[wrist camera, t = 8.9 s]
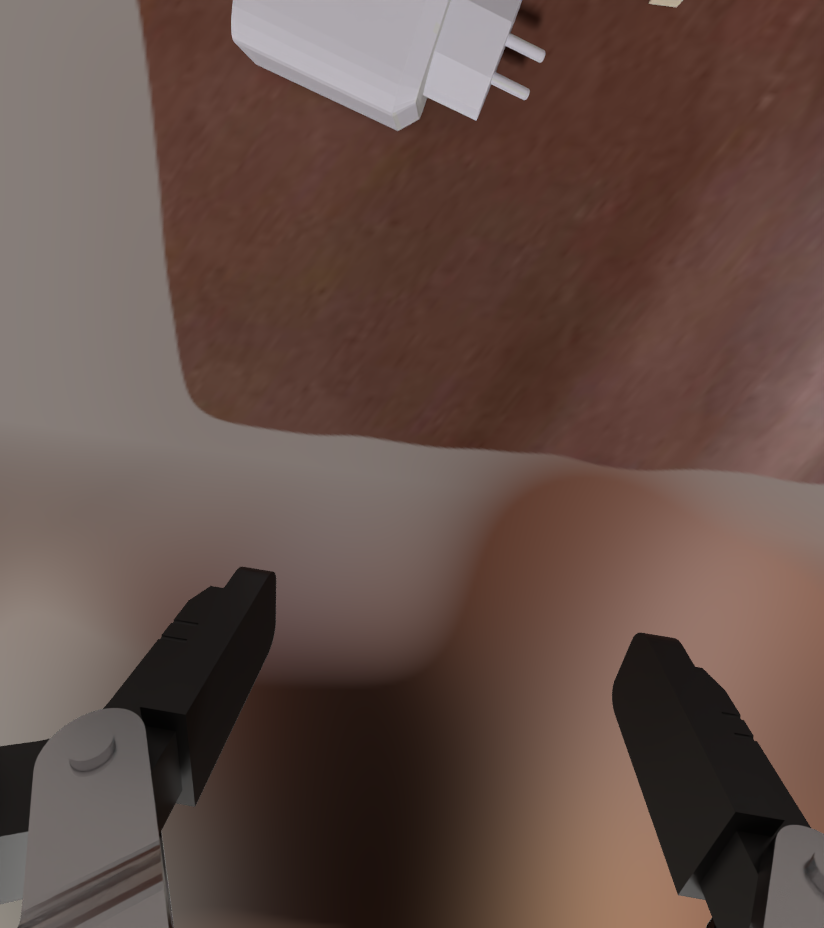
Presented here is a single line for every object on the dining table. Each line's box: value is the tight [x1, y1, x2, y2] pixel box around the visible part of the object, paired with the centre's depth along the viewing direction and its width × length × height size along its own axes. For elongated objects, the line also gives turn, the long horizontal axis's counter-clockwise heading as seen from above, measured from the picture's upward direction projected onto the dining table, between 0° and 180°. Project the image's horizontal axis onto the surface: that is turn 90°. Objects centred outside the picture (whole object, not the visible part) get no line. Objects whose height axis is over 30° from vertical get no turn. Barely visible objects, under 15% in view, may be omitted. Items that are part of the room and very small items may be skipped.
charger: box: [231, 0, 545, 131], centre depth 24 cm, size 5×9×15 cm
